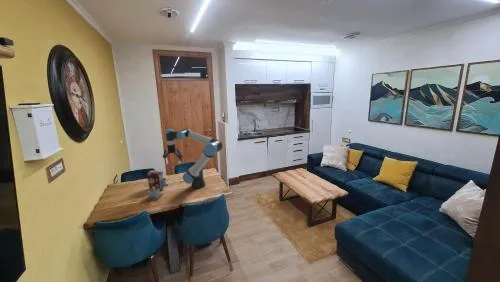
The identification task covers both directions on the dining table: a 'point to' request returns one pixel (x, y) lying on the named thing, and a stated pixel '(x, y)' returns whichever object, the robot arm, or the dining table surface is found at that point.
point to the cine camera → (156, 179)
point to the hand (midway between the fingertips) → (173, 163)
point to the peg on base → (154, 198)
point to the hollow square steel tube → (153, 193)
